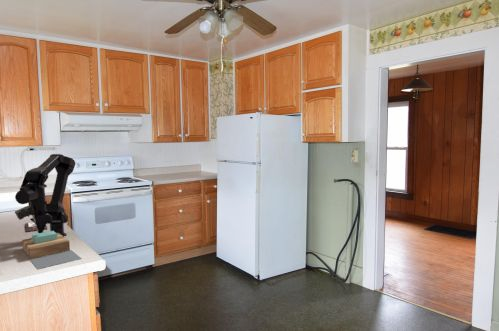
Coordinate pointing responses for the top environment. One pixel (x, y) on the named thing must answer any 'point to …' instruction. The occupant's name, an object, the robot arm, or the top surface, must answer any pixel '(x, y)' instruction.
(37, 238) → the teal tile
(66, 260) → the slate mat
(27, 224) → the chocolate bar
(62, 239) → the oak deck
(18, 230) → the top surface
